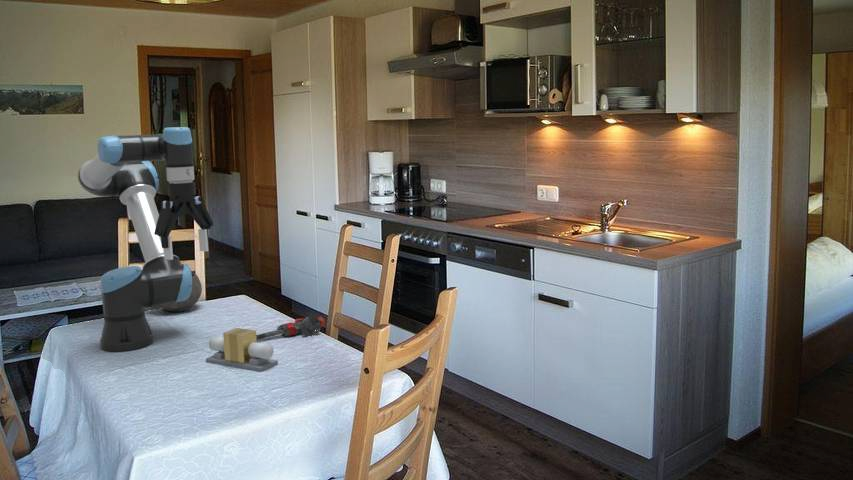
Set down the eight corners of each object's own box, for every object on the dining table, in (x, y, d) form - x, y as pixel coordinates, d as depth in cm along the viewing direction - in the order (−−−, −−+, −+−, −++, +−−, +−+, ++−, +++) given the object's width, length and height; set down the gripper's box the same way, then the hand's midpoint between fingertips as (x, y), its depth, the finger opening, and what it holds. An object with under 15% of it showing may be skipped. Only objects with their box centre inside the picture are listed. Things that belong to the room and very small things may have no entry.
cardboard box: (257, 358, 207) (256, 330, 206) (244, 364, 202) (242, 335, 201) (238, 354, 210) (236, 327, 209) (225, 360, 205) (223, 332, 204)
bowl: (174, 318, 255) (172, 282, 253) (140, 312, 264) (137, 278, 262) (213, 306, 270) (211, 272, 268) (179, 301, 279) (176, 268, 277)
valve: (314, 328, 246) (332, 332, 233) (238, 346, 233) (252, 351, 220) (311, 309, 246) (329, 312, 233) (235, 326, 233) (249, 330, 220)
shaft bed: (206, 361, 208) (204, 339, 207) (223, 354, 214) (222, 333, 213) (261, 371, 199) (259, 348, 197) (277, 363, 205) (276, 341, 204)
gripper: (155, 186, 198) (162, 263, 201) (222, 178, 220) (227, 248, 223) (136, 185, 201) (143, 261, 205) (203, 177, 223) (208, 247, 227)
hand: (186, 255), depth 214 cm, fingers open, 13 cm apart
